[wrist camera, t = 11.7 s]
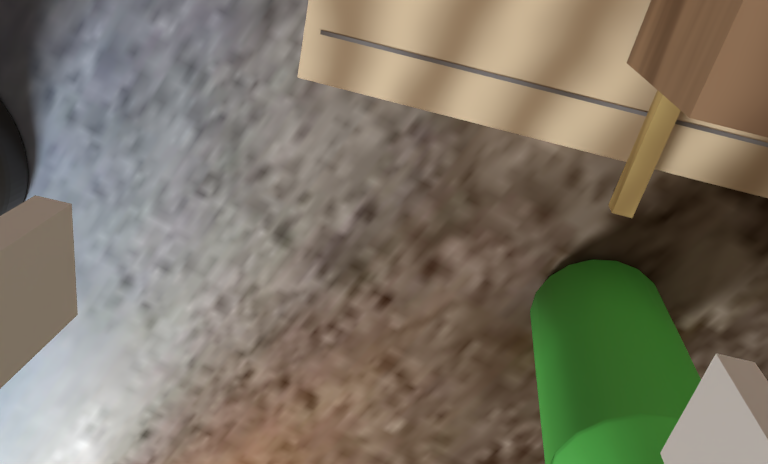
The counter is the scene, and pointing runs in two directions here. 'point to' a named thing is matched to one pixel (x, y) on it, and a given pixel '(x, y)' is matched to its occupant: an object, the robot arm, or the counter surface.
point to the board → (521, 75)
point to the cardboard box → (696, 77)
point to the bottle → (607, 366)
